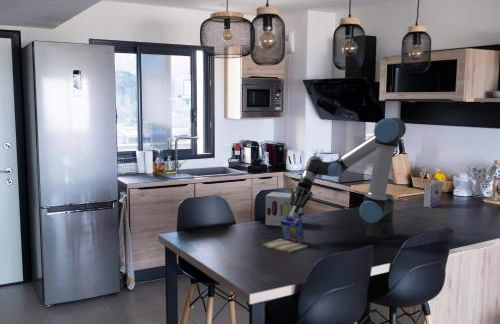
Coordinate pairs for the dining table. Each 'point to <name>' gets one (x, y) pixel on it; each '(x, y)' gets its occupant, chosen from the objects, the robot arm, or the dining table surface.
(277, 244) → the board
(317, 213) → the dining table surface
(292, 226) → the ink cartridge box
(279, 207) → the supplement box
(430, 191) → the candy box
